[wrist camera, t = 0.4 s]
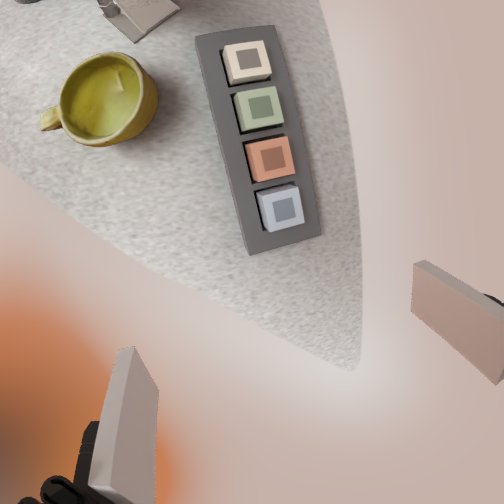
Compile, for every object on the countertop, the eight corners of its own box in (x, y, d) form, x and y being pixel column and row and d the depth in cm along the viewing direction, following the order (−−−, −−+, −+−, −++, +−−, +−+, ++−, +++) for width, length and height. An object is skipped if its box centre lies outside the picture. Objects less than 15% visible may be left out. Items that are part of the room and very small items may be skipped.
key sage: (233, 98, 28) (237, 92, 25) (268, 91, 29) (275, 85, 26) (241, 131, 30) (246, 129, 27) (276, 124, 30) (284, 122, 27)
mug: (172, 48, 25) (136, 44, 17) (170, 132, 31) (138, 160, 23) (79, 62, 25) (27, 71, 17) (84, 136, 31) (38, 165, 23)
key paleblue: (255, 192, 32) (262, 196, 29) (289, 184, 33) (298, 187, 30) (263, 225, 34) (270, 232, 31) (295, 216, 34) (305, 222, 31)
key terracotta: (244, 144, 30) (249, 143, 27) (279, 137, 31) (287, 136, 28) (252, 179, 32) (258, 182, 29) (286, 171, 32) (295, 173, 29)
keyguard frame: (194, 44, 27) (195, 36, 24) (269, 32, 27) (274, 24, 25) (245, 248, 36) (249, 255, 34) (313, 229, 37) (321, 234, 35)
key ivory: (222, 54, 26) (225, 45, 23) (257, 49, 27) (263, 39, 24) (230, 85, 28) (233, 79, 25) (265, 79, 28) (272, 72, 25)
